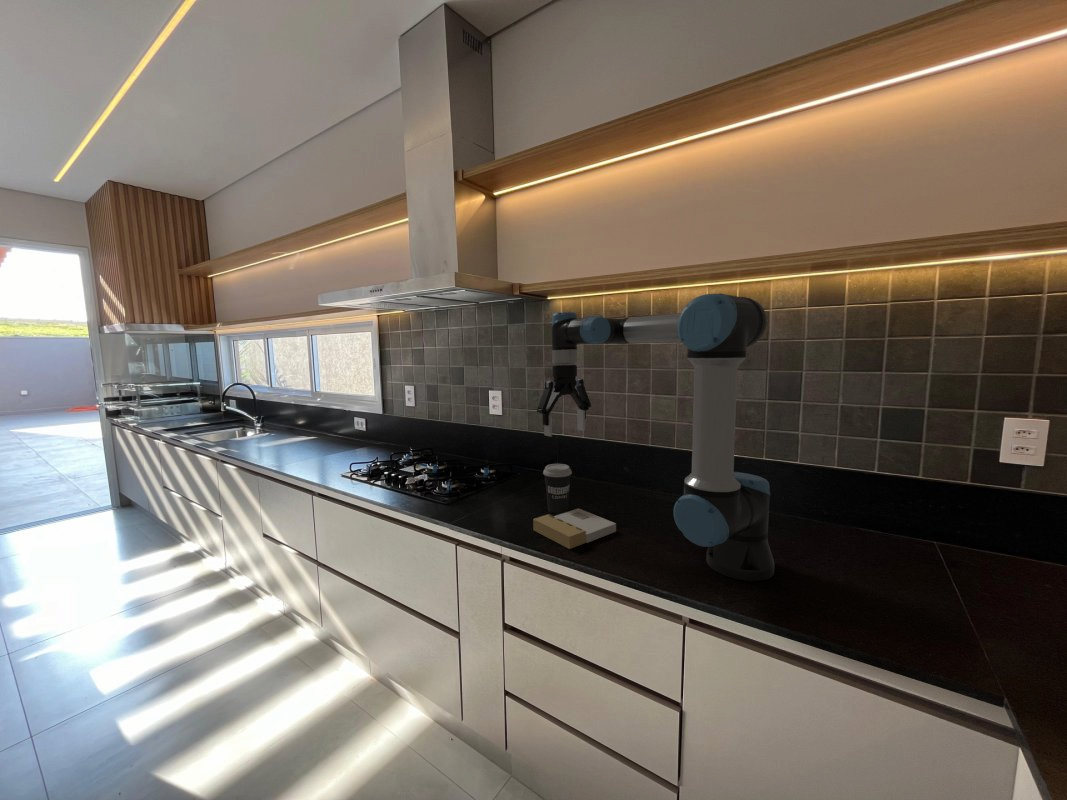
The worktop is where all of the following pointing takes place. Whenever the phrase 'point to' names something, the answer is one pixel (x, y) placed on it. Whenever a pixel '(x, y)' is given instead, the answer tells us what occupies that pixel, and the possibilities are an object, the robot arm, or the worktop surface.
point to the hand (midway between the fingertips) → (565, 433)
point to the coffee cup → (557, 487)
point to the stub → (559, 531)
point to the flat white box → (589, 523)
